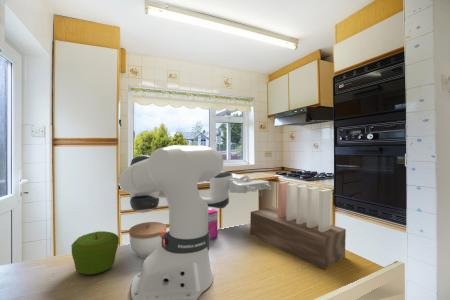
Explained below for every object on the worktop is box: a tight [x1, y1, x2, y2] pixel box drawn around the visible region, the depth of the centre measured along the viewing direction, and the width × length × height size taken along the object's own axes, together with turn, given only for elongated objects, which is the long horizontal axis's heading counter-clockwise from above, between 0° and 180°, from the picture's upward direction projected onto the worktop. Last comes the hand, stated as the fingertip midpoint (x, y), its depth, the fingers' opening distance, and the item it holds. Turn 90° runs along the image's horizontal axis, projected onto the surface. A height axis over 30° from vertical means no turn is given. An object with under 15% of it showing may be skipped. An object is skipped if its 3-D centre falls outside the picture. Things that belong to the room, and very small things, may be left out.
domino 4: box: [307, 186, 320, 228], centre depth 81 cm, size 5×2×14 cm, turn 126°
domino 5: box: [318, 188, 332, 232], centre depth 78 cm, size 5×2×14 cm, turn 126°
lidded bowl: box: [128, 221, 167, 259], centre depth 80 cm, size 13×13×11 cm
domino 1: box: [277, 181, 290, 218], centre depth 92 cm, size 5×2×14 cm, turn 127°
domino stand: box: [249, 206, 347, 271], centre depth 88 cm, size 14×34×10 cm, turn 37°
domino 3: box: [296, 184, 309, 224], centre depth 85 cm, size 5×2×14 cm, turn 126°
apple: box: [71, 230, 120, 275], centre depth 69 cm, size 12×12×11 cm
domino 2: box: [286, 183, 299, 221], centre depth 89 cm, size 5×2×14 cm, turn 127°
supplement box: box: [208, 207, 219, 240], centre depth 95 cm, size 6×6×12 cm
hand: (262, 188), depth 102 cm, fingers open, 8 cm apart
